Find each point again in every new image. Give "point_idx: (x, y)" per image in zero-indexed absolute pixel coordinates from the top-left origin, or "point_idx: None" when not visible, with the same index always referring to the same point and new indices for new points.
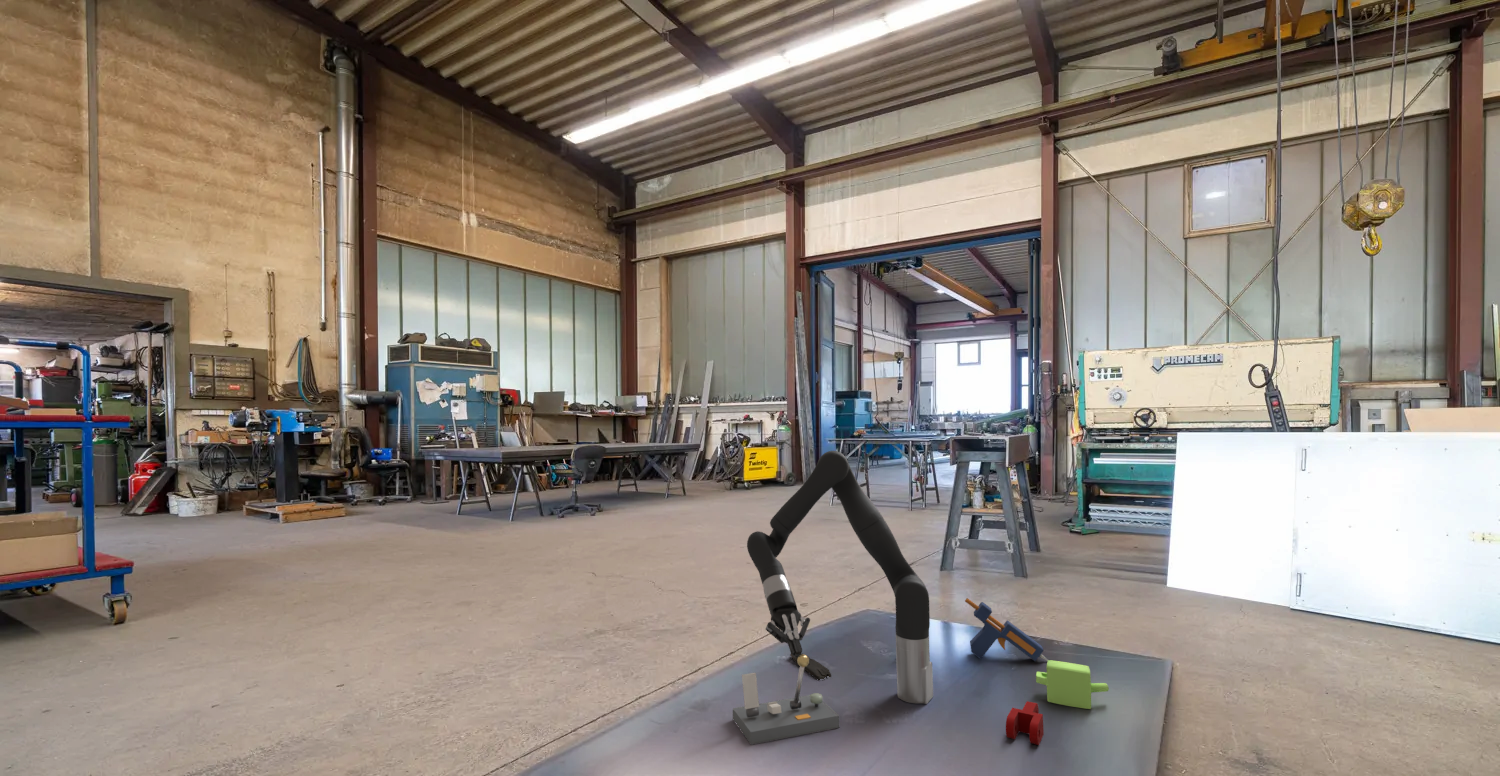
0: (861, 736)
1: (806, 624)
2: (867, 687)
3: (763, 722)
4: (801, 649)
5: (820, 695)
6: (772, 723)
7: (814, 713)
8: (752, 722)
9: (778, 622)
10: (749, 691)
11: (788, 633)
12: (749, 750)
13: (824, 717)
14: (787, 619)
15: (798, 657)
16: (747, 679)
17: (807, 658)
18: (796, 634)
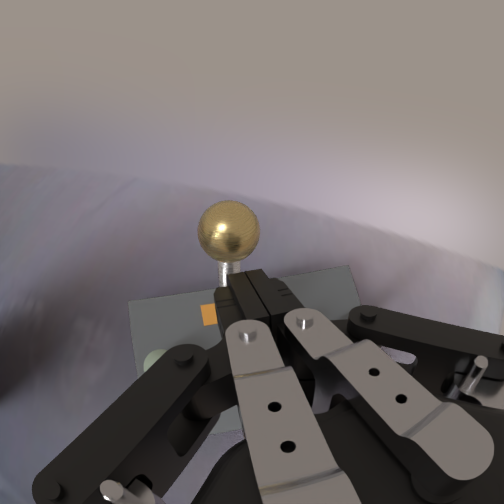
0: (109, 261)
1: (98, 444)
2: (30, 464)
3: (321, 302)
4: (219, 292)
5: (148, 365)
6: (301, 294)
7: (184, 327)
8: (345, 306)
9: (465, 404)
10: None
11: (337, 341)
12: (339, 256)
13: (166, 299)
14: (408, 439)
15: (256, 222)
16: None
17: (210, 206)
18: (252, 346)
